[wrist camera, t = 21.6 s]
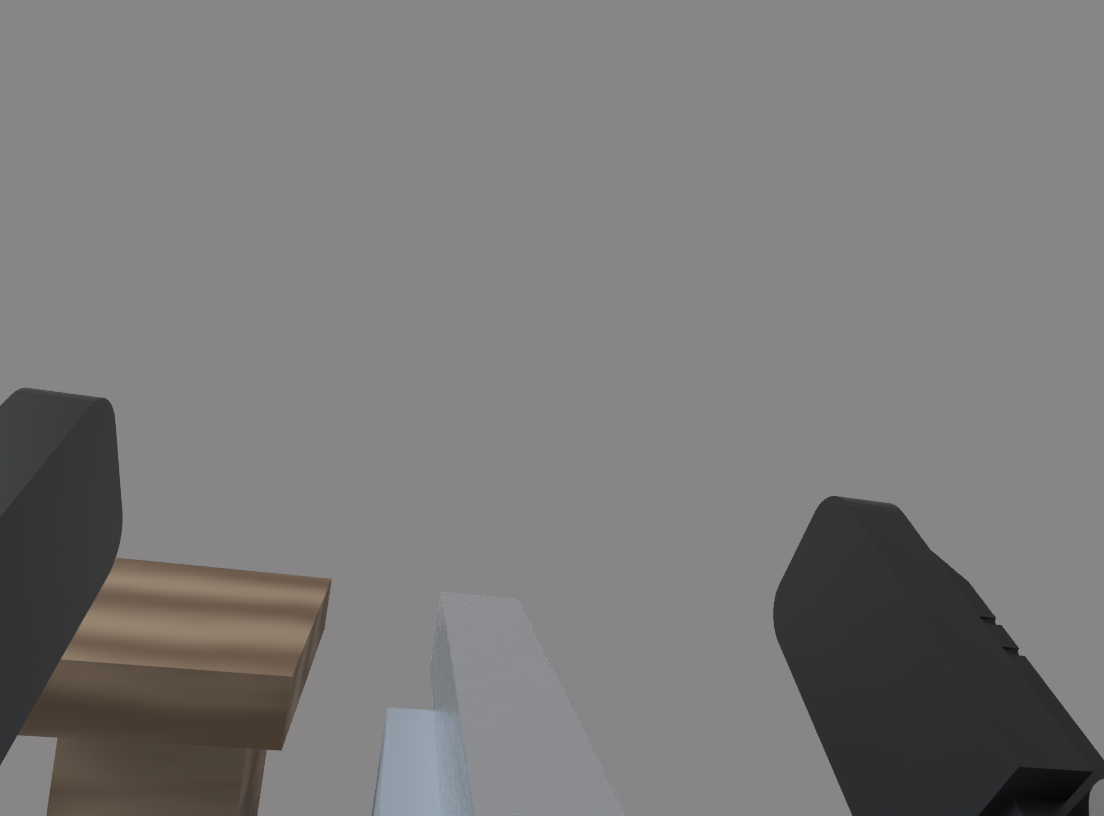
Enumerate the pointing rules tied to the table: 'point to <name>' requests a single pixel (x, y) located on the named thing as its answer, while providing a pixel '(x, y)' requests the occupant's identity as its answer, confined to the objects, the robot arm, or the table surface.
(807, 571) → the robot arm
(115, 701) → the walnut pedestal
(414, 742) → the slate plinth
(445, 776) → the aluminium bar
